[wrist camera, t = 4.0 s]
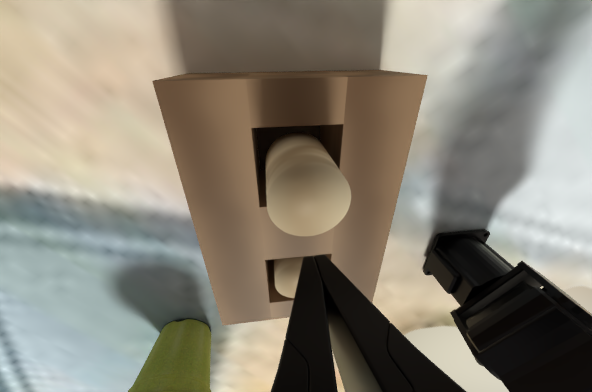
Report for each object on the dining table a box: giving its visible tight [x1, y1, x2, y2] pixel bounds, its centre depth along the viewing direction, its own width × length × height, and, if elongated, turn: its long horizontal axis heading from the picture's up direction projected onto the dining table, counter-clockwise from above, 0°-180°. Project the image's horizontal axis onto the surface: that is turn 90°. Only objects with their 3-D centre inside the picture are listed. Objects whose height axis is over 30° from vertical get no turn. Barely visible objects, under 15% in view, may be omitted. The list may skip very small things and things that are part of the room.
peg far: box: [274, 255, 315, 298], centre depth 21 cm, size 4×4×5 cm
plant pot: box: [128, 319, 211, 392], centre depth 27 cm, size 9×9×9 cm
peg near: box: [266, 132, 351, 236], centre depth 13 cm, size 4×4×5 cm
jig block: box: [153, 70, 427, 325], centre depth 20 cm, size 14×20×6 cm
